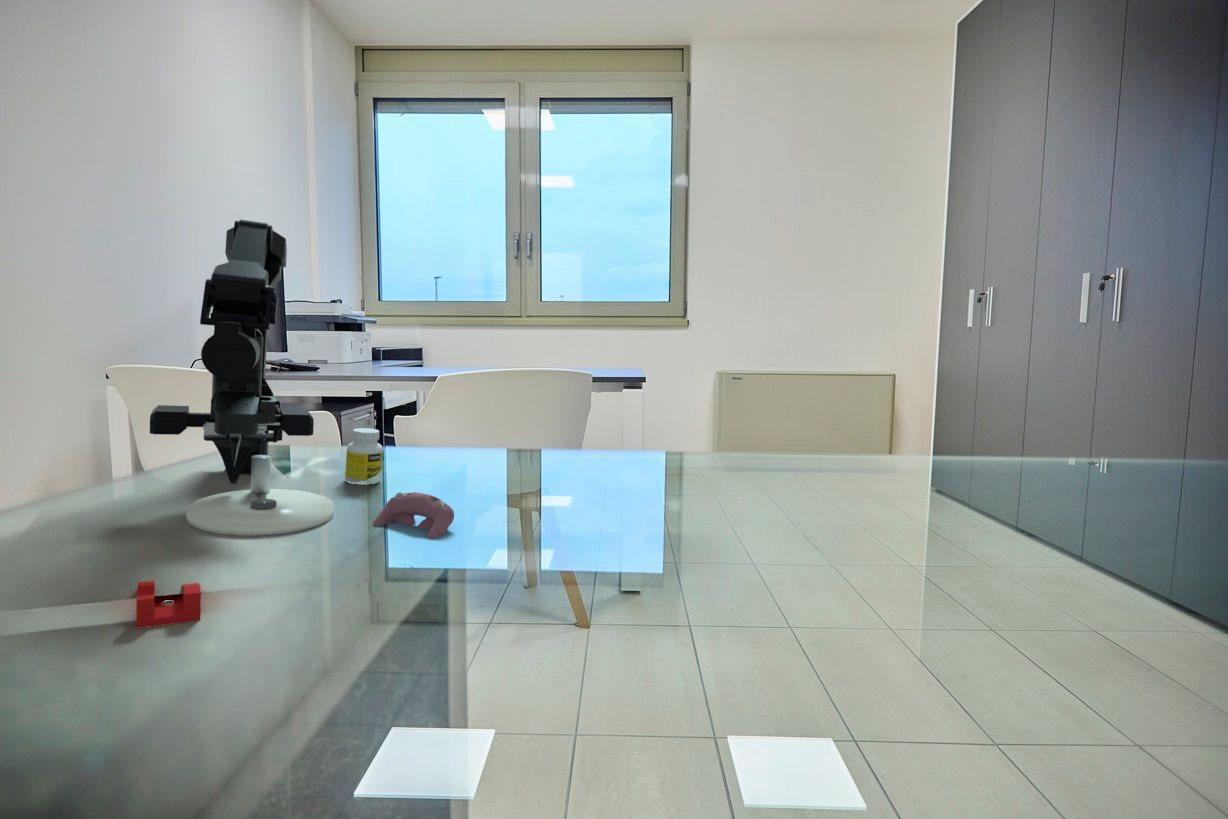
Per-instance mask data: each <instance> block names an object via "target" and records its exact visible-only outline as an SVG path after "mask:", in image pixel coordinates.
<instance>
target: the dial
mask: <svg viewBox="0 0 1228 819" xmlns="http://www.w3.org/2000/svg"><path fill="white" fill-rule="evenodd" d="M271 475H272V456H271V455H269V454H268V455H255V456H252V465H251V474H250V489H243V490H233V491H227V492H221V493H216V494H212V495H208V496H205V497H202V498H200V499H198V500H196V501H193V502H191V504H189V505H188V506H187V507H186V510H185V512H186V513H185V516H186V517H185V520H186V523H187V524H189V526H191V527H193V528H194V529H197V530H200V531H204V532H208V533H211V534H212V533H213V534H217V535H218V534H219V535H225V536H236V537H237V536H241V537H242V536H243V537H248V536H249V537H253V536H254V537H258V536H273V535H282V534H283V535H284V534H291V533H297V532H301V531H304V530H309V529H313V528H315V527H318V526H321V525H323V524H325V523H327V522H328V521H330V520H331V519H332V518H333V516H334V512H335V504H334V502H333V500H331V499H329V498H328V497H326V496H324V495H321V494H318V493H314V492H310V491H304V490H296V489H287V488H286V489H282V488H271V480H272V479H271V478H272V477H271Z"/></svg>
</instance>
